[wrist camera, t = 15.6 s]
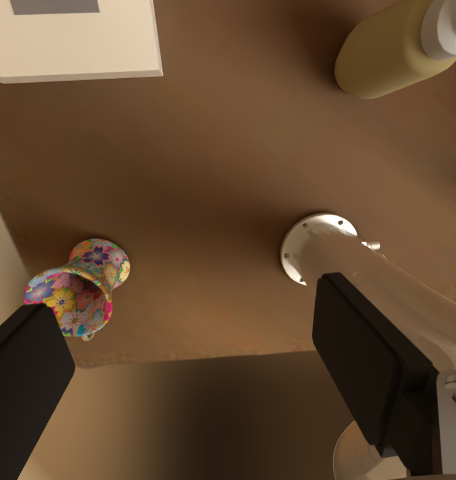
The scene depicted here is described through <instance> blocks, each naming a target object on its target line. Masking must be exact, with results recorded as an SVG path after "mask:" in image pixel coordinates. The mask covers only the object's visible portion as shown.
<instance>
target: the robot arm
mask: <svg viewBox="0 0 456 480" xmlns="http://www.w3.org/2000/svg"><path fill="white" fill-rule="evenodd" d="M304 223H305V224H304ZM303 224H304V225H303ZM379 247H380V243H379V242H378V241H376V240H375V241H368V242H365V241H363V240H362V239H360V238H359V237H358V236H357V233H356V231H355V229H354V227H353V226H352V225H351V223H350V222H348V221H347V220H346V219H344V218H343V217H341V216H339V215H336V214H333V213H317V214H313V215H310V216H308V217H305V218H303V219H302V220H300V221H299V222H297V223H296V224H295V225H294V226H293V227H292V228H291V229H290V230H289V231H288V233H287V234H286V236H285V238H284V240H283V242H282V245H281V250H280V259H281V263H282V266H283V268H284V270H285V272H286V273H287V274H288V276H289V277H290V278H291V279H293V280H294V281H296V282H297V283H300V284H303V285H307V286H308V287H309V289H310V290H311V292H312V293H313V295H314V296H315V297H316V299H315V309H314V320H313V331H312V339H313V343H314V345H315V347H316V349H317V351H318V353H319V355H320V356H321V358H322V360H323V362H324V364H325V365H326V368H327V369H328V371H329V373H330V375H331V377H332V379H333V380H334V382H335V384H336V386H337V388H338V390H339V392H340V393H341V395H342V397H343V399H344V401H345V403H346V405H347V406H348V408H349V410H350V412H351V414H352V416H353V417H354V419H355V421H354V422H352V424H350V425H349V427H348V428H347V429H346V430H345V431H344V432H343V434H342V435H341V436H340V438H339V440H338V442H337V444H336V448H335V451H334V457H333V468H334V474H335V478H336V480H456V303H454V302H452V301H451V300H449V299H447V298H446V297H444V296H443V295H441V294H439V293H438V292H436V291H434V290H433V289H431V288H430V287H428V286H427V285H425V284H423V283H422V282H420V281H419V280H417V279H416V278H414V277H413V276H411V275H410V274H408V273H407V272H405V271H404V270H402V269H401V268H399V267H398V266H396V265H395V264H393V263H392V262H390V261H389V260H387V259H386V258H385V256H384V254H383V253H377V252H375V251H374V250H376V249H379ZM74 371H75V363H74V361H73V358H72V356H71V353H70V351H69V348H68V346H67V343H66V341H65V339H64V336H63V334H62V331H61V329H60V326H59V324H58V321H57V319H56V316H55V314H54V312H53V309H52V308H51V307H48V306H47V305H46V304H45V303H36V304H26V305H23V306H21V307H20V308H19V309H18V310H16V311H15V312H14V313H13V314H12V315H11V316H10V317H9V318H8V319H7V320H6V321H5V322H4V323H3V324H1V325H0V480H17V479H18V477H19V475H20V473H21V471H22V470H23V468H24V466H25V464H26V462H27V460H28V458H29V456H30V455H31V453H32V451H33V449H34V447H35V445H36V443H37V442H38V440H39V438H40V436H41V434H42V432H43V430H44V429H45V427H46V425H47V423H48V421H49V419H50V418H51V416H52V414H53V412H54V410H55V408H56V406H57V404H58V403H59V401H60V399H61V397H62V395H63V393H64V391H65V390H66V388H67V386H68V384H69V382H70V380H71V378H72V377H73V374H74Z"/></svg>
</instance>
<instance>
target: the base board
mask: <svg viewBox="0 0 456 480" xmlns="http://www.w3.org/2000/svg"><path fill="white" fill-rule="evenodd" d="M155 76H163V71H162V63H161V56H160V49H159V41H158V34H157V27H156V19H155V12H154V4H153V0H0V83H4V84H7V83H28V82H49V81H70V80H91V79H112V78H134V77H155Z"/></svg>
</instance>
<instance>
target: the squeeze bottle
mask: <svg viewBox="0 0 456 480" xmlns="http://www.w3.org/2000/svg"><path fill="white" fill-rule="evenodd" d="M455 61H456V0H400V1H398V2H396V3H394V4H392V5H390V6H388V7H386V8H385V9H383V10H381V11H379V12H377V13H375V14H373V15H371V16H369V17H368V18H366V19H364V20H362V21H360V22H359V23H358V24H357V26H356V27H355V28H354V29H353V30H352V31H351V33H350V34H349V35H348V37H347V39H346V41H345V43H344V44H343V46H342V48H341V50H340V52H339V55H338V57H337V59H336V62H335V72H334V74H335V77H336V81H337V84H338V85H339V86H340V87H341V89H342V90H344V91H346V92H348V93H350V94H352V95H355V96H357V97H359V98H361V99H375V98H378V97H381V96H383V95H386V94H388V93H391V92H393V91H396V90H399V89H401V88H404V87H406V86H409V85H411V84H414V83H416V82H419V81H422V80H424V79H427V78H429V77H432V76H434V75H436V74H438V73H440V72H442V71H444V70H446V69H448V68H449V67H450V66H451V65H452V64H453V63H454V62H455Z"/></svg>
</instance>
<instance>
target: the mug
mask: <svg viewBox="0 0 456 480" xmlns="http://www.w3.org/2000/svg"><path fill="white" fill-rule="evenodd" d="M129 271H130V263H129V259H128V257H127V255H126V254H125V252H124V251H123V250H122V249H121V248H120V247H119V246H117V245H116V244H114V243H112V242H110V241H108V240H104V239H89V240H85V241H83V242H81V243H79V244H78V245H76V246H75V247H74V249H73V250H72V252H71V254H70V258H69V262H68V263H67V264H66V265H64V266H62V267H60V268H54V269H49V270H46V271H43V272H41V273H39V274H38V275H36V276H35V277H34V278H32V279H31V280H30V282H29V283H28V285H27V286H26V289H25V292H24V304H25V305H26V304H36V303H45V304H46V305H47V306H48V307H51V308H52V309H53V312H54V314H55V316H56V319H57V321H58V324H59V326H60V329H61V331H62V334H63V335H64V336H81V337H82V339H83V340H85V341H88V340H91V339H92V338H93V336H94V333H95V332H96V331H98V330H99V329H101V328H102V327H103V326H104V325H105V324H106V323H107V322H108V320H109V318H110V316H111V313H112V300H111V294H112V291H113V289H114V288H115V287H117V286H119V285H121V284H122V283H123V282H124V281H125V280H126V279H127V277H128V275H129ZM87 335H88V336H87Z"/></svg>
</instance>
